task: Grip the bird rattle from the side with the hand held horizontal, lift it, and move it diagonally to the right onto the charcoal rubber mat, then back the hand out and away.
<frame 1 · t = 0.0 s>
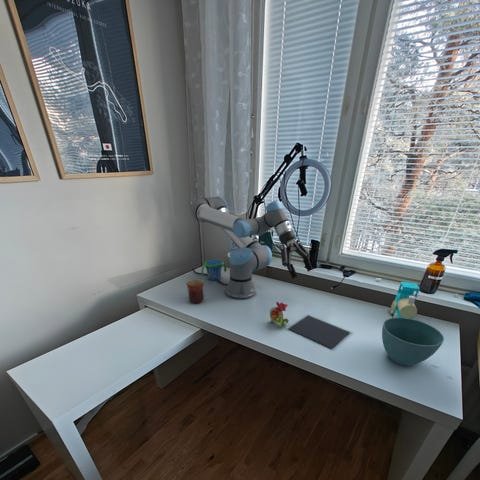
hand: (303, 274, 129), 15 cm above the table, tool tilted 35°, fingers open, 13 cm apart
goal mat: (318, 331, 113), on the table
snack cup: (214, 278, 163), on the table
mug: (197, 300, 137), on the table
toy train: (400, 319, 122), on the table
teal green bowl: (400, 358, 98), on the table
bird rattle: (277, 324, 117), on the table
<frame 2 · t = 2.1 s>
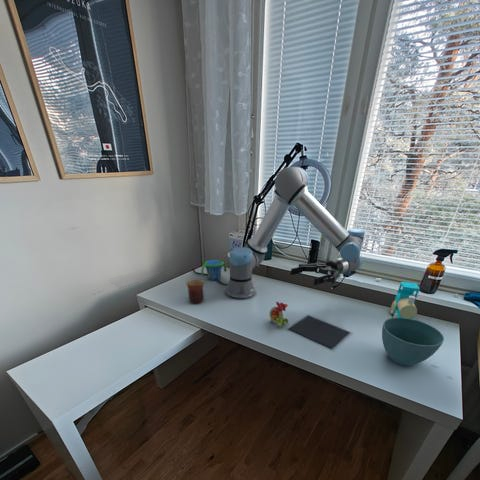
hand: (302, 276, 112), 20 cm above the table, tool horizontal, fingers open, 13 cm apart
nothing on the table moved.
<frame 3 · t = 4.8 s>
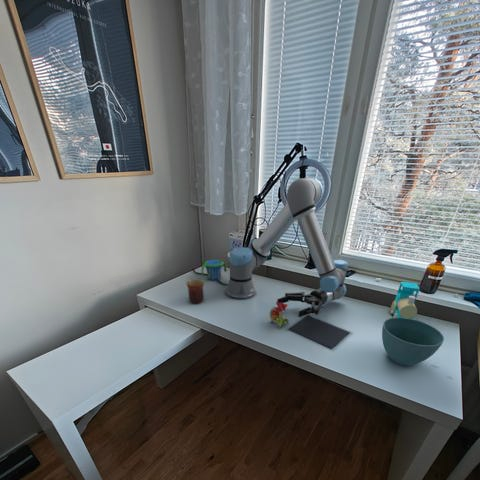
hand: (287, 307, 117), 7 cm above the table, tool horizontal, fingers open, 13 cm apart
nothing on the table moved.
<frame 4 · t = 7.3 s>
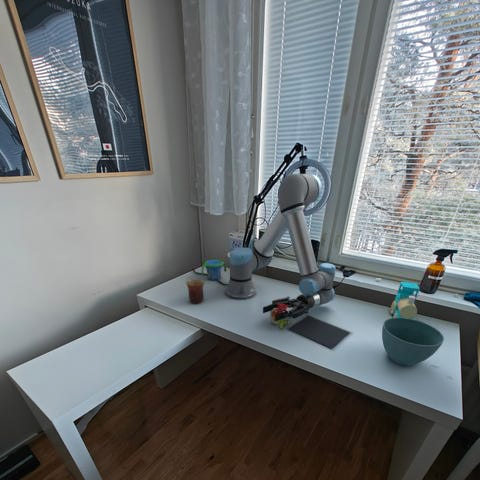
hand: (269, 314, 112), 7 cm above the table, tool horizontal, fingers closed on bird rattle, 7 cm apart
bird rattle: (277, 325, 117), on the table, touching gripper
everything else where it was.
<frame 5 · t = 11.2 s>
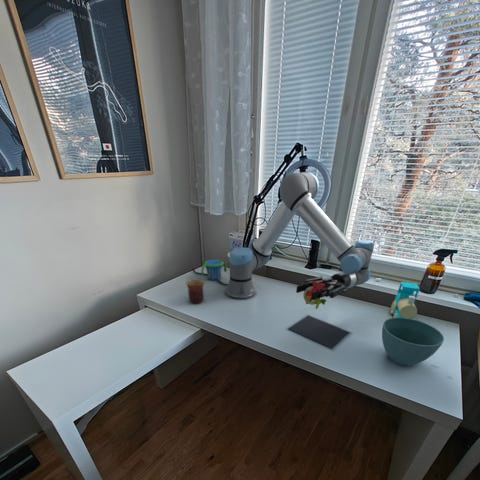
hand: (304, 292, 102), 18 cm above the table, tool horizontal, fingers closed on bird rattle, 7 cm apart
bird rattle: (312, 306, 107), point 12 cm above the table, touching gripper
everything else where it was.
when the fingers open (7 cm above the table, at t = 15.4 s): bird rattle stays where it is, resting on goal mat.
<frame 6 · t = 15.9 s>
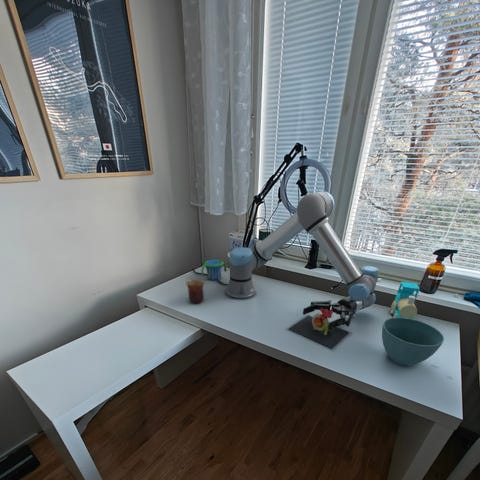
hand: (316, 318, 108), 7 cm above the table, tool horizontal, fingers open, 13 cm apart
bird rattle: (320, 332, 112), resting on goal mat
everything else where it was.
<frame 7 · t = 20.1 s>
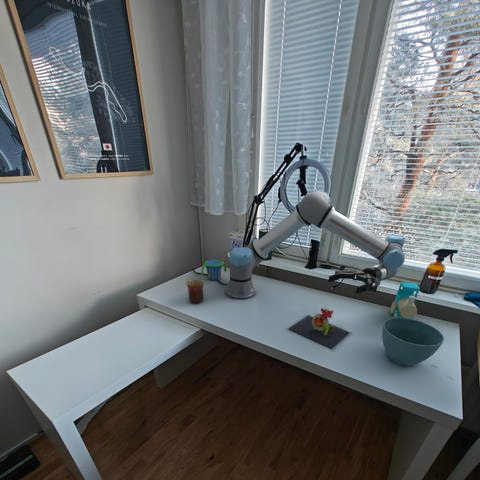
hand: (342, 284, 108), 19 cm above the table, tool horizontal, fingers open, 13 cm apart
nothing on the table moved.
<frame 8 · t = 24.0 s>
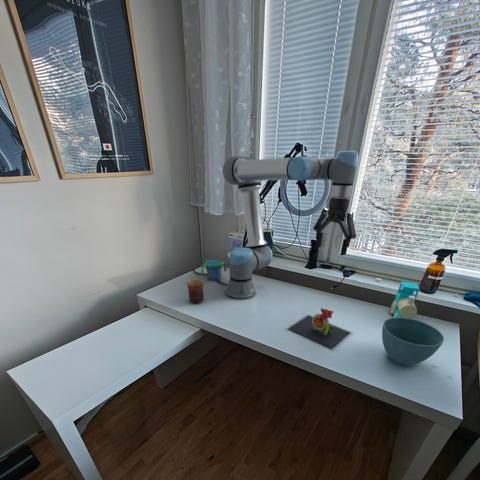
hand: (329, 251, 116), 29 cm above the table, tool pointing down, fingers open, 13 cm apart
nothing on the table moved.
at the end: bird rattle inside the target area (1.2 cm from its centre), resting on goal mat; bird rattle tilted 0°; the gripper is holding nothing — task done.
